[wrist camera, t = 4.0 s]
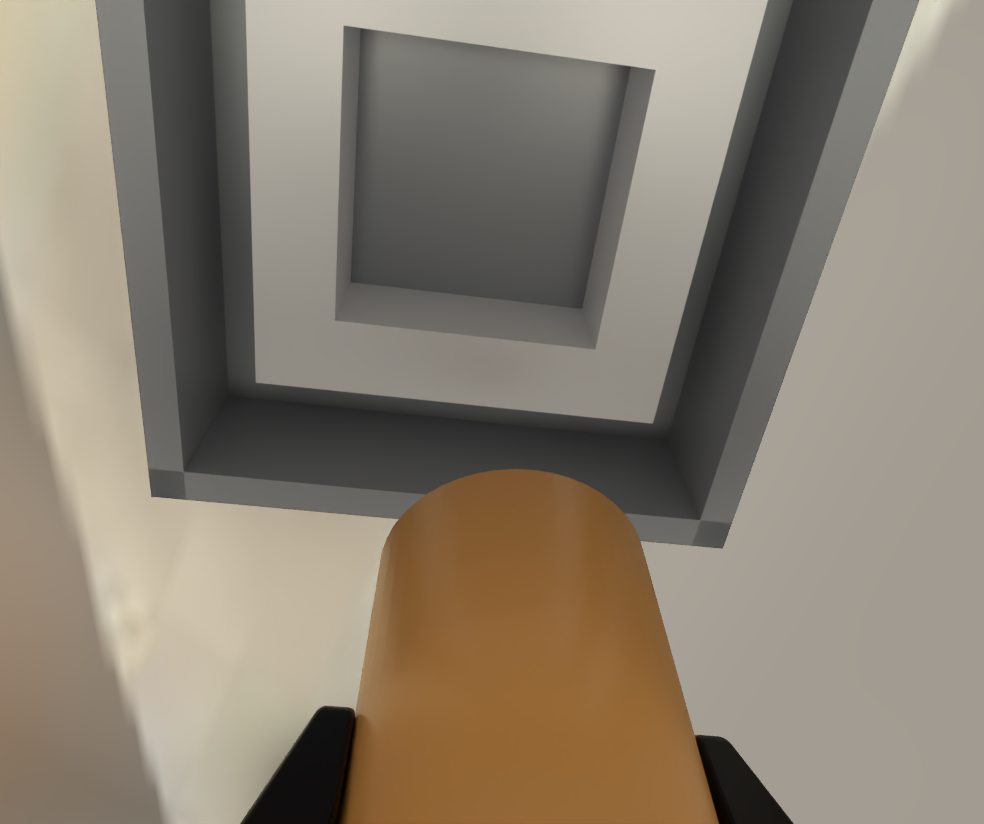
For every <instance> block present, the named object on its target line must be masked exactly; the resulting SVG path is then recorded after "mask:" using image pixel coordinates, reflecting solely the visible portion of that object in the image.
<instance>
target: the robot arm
mask: <svg viewBox="0 0 984 824" xmlns="http://www.w3.org/2000/svg"><path fill="white" fill-rule="evenodd" d="M354 722H355V712H354V710H353V709H352V708H348V707H335V706H323V707H321V708H319V709H318V710H317V711H316V713H315V714H314V715H313V717H312V718H311V720H310V721H309V723H308V724H307V726H306V727H305V729H304V730H303V732H302V733H301V735H300V736H299V738H298V739H297V740H296V742H295V743H294V745H293V746H292V748H291V749H290V751H289V752H288V754H287V755H286V757H285V758H284V760H283V761H282V763H281V764H280V766H279V767H278V769H277V770H276V772H275V773H274V775H273V776H272V778H271V779H270V780H269V782H268V783H267V785H266V786H265V788H264V789H263V791H262V792H261V794H260V795H259V797H258V798H257V800H256V801H255V803H254V804H253V806H252V807H251V809H250V810H249V812H248V813H247V815H246V816H245V817H244V819H243V820H242V822H241V823H240V824H338V819H339V813H340V807H341V801H342V795H343V789H344V783H345V776H346V770H347V764H348V758H349V752H350V746H351V740H352V734H353V728H354ZM694 736H695V739H696V743H697V746H698V750H699V754H700V757H701V761H702V764H703V768H704V772H705V775H706V779H707V782H708V786H709V790H710V793H711V797H712V800H713V804H714V807H715V811H716V815H717V818H718V822H719V824H793V822H792V821H791V820H790V818H789V817H788V816H787V815H786V813H785V812H784V811H783V810H782V808H781V807H780V806H779V804H778V803H777V802H776V801H775V799H774V798H773V797H772V796H771V794H770V793H769V792H768V791H767V789H766V788H765V787H764V786H763V784H762V783H761V782H760V780H759V779H758V778H757V776H756V775H755V774H754V773H753V771H752V770H751V769H750V768H749V766H748V765H747V764H746V762H745V761H744V760H743V758H742V757H741V756H740V755H739V753H738V752H737V751H736V750H735V748H734V747H733V746H732V745H731V744H730V743H729V742H728V741H727V740H726V739H724V738H722V737H718V736H704V735H694Z"/></svg>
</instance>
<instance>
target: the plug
mask: <svg viewBox="0 0 984 824" xmlns="http://www.w3.org/2000/svg"><path fill="white" fill-rule="evenodd" d="M338 824H719V822H718V818H717V815H716V811H715V807H714V804H713V800H712V797H711V793H710V790H709V786H708V782H707V779H706V775H705V772H704V768H703V764H702V761H701V757H700V754H699V750H698V746H697V743H696V739H695V736H694V732H693V729H692V725H691V721H690V718H689V714H688V710H687V707H686V703H685V700H684V696H683V692H682V689H681V685H680V682H679V678H678V674H677V671H676V667H675V664H674V660H673V656H672V653H671V650H670V646H669V642H668V639H667V635H666V632H665V628H664V624H663V621H662V617H661V613H660V610H659V606H658V602H657V599H656V595H655V592H654V588H653V585H652V581H651V577H650V574H649V570H648V567H647V563H646V559H645V556H644V552H643V549H642V546H641V542H640V539H639V536H638V534H637V532H636V530H635V528H634V526H633V525H632V523H631V522H630V520H629V519H628V518H627V516H626V515H625V514H624V513H623V512H622V511H621V509H620V508H619V507H618V506H617V505H616V504H615V503H614V502H612V501H611V500H610V499H608V498H607V497H606V496H604V495H603V494H602V493H600V492H598V491H597V490H595V489H593V488H591V487H590V486H588V485H586V484H584V483H581V482H579V481H576V480H574V479H571V478H569V477H565V476H561V475H558V474H554V473H550V472H543V471H537V470H524V469H507V470H494V471H488V472H482V473H476V474H473V475H469V476H466V477H462V478H459V479H457V480H454V481H452V482H449V483H447V484H444V485H442V486H440V487H439V488H437V489H435V490H433V491H431V492H430V493H428V494H426V495H425V496H424V497H422V498H421V499H420V500H418V501H417V502H416V503H414V504H413V505H412V506H411V507H410V508H409V509H408V510H407V511H406V512H405V513H404V514H403V515H402V516H401V517H400V519H399V520H398V521H397V523H396V524H395V525H394V527H393V528H392V530H391V532H390V534H389V536H388V537H387V539H386V542H385V545H384V548H383V551H382V555H381V561H380V567H379V573H378V579H377V585H376V591H375V597H374V603H373V609H372V616H371V622H370V628H369V634H368V640H367V646H366V652H365V658H364V664H363V670H362V676H361V683H360V689H359V695H358V701H357V707H356V713H355V722H354V728H353V734H352V740H351V746H350V752H349V758H348V764H347V770H346V776H345V783H344V789H343V795H342V801H341V807H340V813H339V819H338Z"/></svg>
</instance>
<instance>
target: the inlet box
mask: <svg viewBox="0 0 984 824" xmlns="http://www.w3.org/2000/svg"><path fill="white" fill-rule="evenodd" d="M95 2H96V10H97V19H98V28H99V37H100V46H101V55H102V63H103V72H104V81H105V90H106V99H107V108H108V116H109V125H110V134H111V143H112V152H113V161H114V169H115V178H116V187H117V196H118V205H119V214H120V222H121V231H122V240H123V249H124V258H125V267H126V276H127V284H128V293H129V302H130V311H131V320H132V329H133V337H134V346H135V355H136V364H137V373H138V382H139V390H140V399H141V408H142V417H143V426H144V435H145V443H146V452H147V461H148V470H149V479H150V488H151V497H162V498H173V499H184V500H195V501H206V502H217V503H228V504H239V505H250V506H261V507H272V508H283V509H294V510H305V511H316V512H327V513H338V514H349V515H360V516H371V517H382V518H393V519H400V517H401V516H402V515H403V514H404V513H405V512H406V511H407V510H408V509H409V508H410V507H411V506H412V505H413V504H414V503H416V502H417V501H418V500H420V499H421V498H422V497H424V496H425V495H426V494H428V493H430V492H431V491H433V490H435V489H437V488H439V487H440V486H442V485H444V484H447V483H449V482H452V481H454V480H457V479H459V478H462V477H466V476H469V475H473V474H476V473H482V472H488V471H494V470H507V469H524V470H537V471H543V472H550V473H554V474H558V475H561V476H565V477H569V478H571V479H574V480H576V481H579V482H581V483H584V484H586V485H588V486H590V487H591V488H593V489H595V490H597V491H598V492H600V493H602V494H603V495H604V496H606V497H607V498H608V499H610V500H611V501H612V502H614V503H615V504H616V505H617V506H618V507H619V508H620V509H621V511H622V512H623V513H624V514H625V515H626V516H627V518H628V519H629V520H630V522H631V523H632V525H633V526H634V528H635V530H636V532H637V534H638V536H639V539H640V541H647V542H658V543H669V544H680V545H691V546H702V547H713V548H723V546H724V543H725V541H726V538H727V535H728V532H729V529H730V527H731V524H732V521H733V518H734V515H735V513H736V510H737V507H738V504H739V501H740V499H741V496H742V493H743V490H744V488H745V485H746V482H747V479H748V476H749V474H750V471H751V468H752V465H753V462H754V460H755V457H756V454H757V451H758V449H759V446H760V443H761V440H762V437H763V434H764V432H765V429H766V426H767V423H768V421H769V418H770V415H771V412H772V410H773V407H774V404H775V401H776V398H777V396H778V393H779V390H780V387H781V384H782V382H783V379H784V376H785V373H786V370H787V368H788V365H789V362H790V359H791V356H792V354H793V351H794V348H795V345H796V342H797V340H798V337H799V334H800V331H801V328H802V326H803V323H804V320H805V317H806V315H807V312H808V309H809V306H810V304H811V301H812V298H813V295H814V292H815V290H816V287H817V284H818V281H819V278H820V276H821V273H822V270H823V267H824V265H825V262H826V259H827V256H828V253H829V250H830V248H831V245H832V242H833V239H834V237H835V234H836V231H837V228H838V225H839V223H840V220H841V217H842V214H843V212H844V209H845V206H846V203H847V200H848V198H849V195H850V192H851V189H852V186H853V184H854V181H855V178H856V175H857V173H858V170H859V167H860V164H861V161H862V159H863V156H864V153H865V150H866V147H867V145H868V142H869V139H870V136H871V134H872V131H873V128H874V125H875V122H876V120H877V117H878V114H879V111H880V108H881V106H882V103H883V100H884V97H885V94H886V92H887V89H888V86H889V83H890V81H891V78H892V75H893V72H894V69H895V67H896V64H897V61H898V58H899V55H900V53H901V50H902V47H903V44H904V42H905V39H906V36H907V33H908V30H909V28H910V25H911V22H912V19H913V16H914V14H915V11H916V8H917V5H918V2H919V0H95Z"/></svg>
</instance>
